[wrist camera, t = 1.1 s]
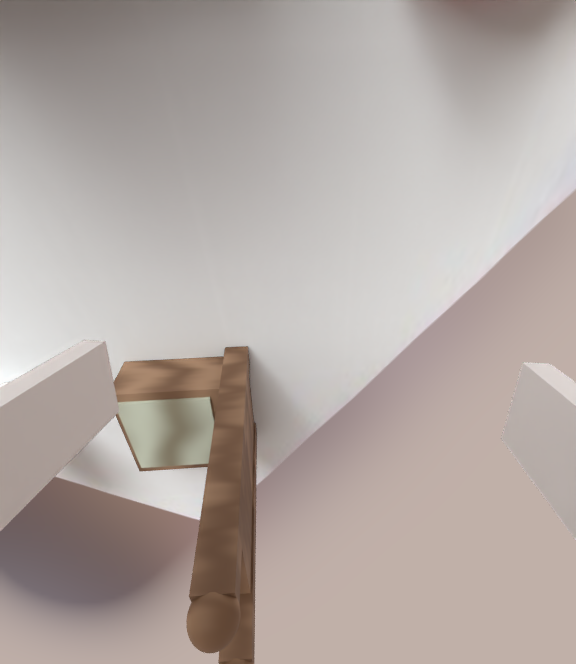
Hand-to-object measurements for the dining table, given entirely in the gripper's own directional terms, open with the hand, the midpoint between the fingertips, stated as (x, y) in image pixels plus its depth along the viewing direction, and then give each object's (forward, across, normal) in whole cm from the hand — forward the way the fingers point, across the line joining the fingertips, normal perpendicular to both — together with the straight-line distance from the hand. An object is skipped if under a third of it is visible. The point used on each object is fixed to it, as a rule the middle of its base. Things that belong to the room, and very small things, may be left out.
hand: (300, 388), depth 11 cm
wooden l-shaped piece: (+24, -14, -16) cm, 32 cm away
